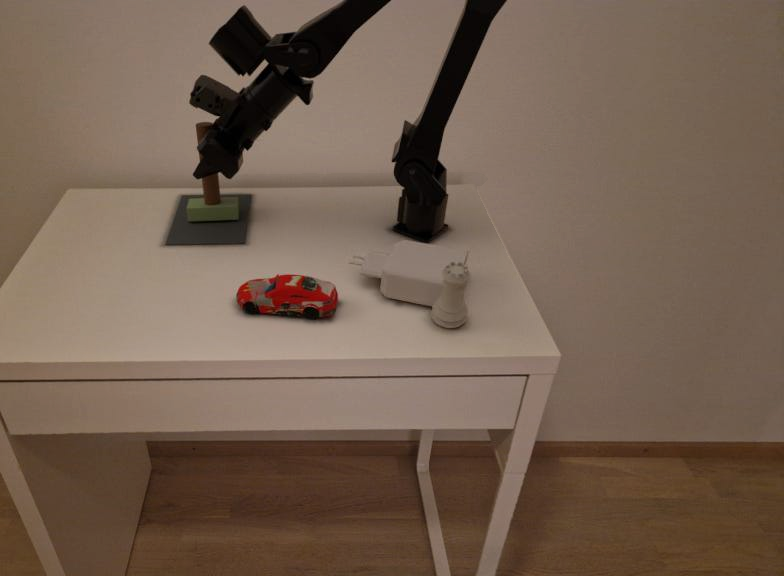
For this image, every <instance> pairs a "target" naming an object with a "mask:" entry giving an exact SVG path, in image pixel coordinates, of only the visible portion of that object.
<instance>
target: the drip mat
mask: <svg viewBox="0 0 784 576" xmlns="http://www.w3.org/2000/svg"><path fill="white" fill-rule="evenodd" d="M222 197H238V201H239V218H238V220H216V221H190V222H188V217H187V210H186V208H187V205H188V201H189V199H195V198H204V194H182V195H181V197H180V199H179V200H180V201H179V204H178V206H177V209H176V211H175V214H174V218H173V221H172V223H171V225H170V229H169V232H168V235H167V237H166V241H165V244H164V245H165V246H199V245H203V246H204V245H245V244H246V243H245V242H246V238H247V237H246V235H247V229H248V222H249V216H250V215H249V214H250V207H251V199H252V194H251V193H249V194H242V193H241V194H220V198H222Z"/></svg>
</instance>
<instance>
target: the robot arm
mask: <svg viewBox="0 0 784 576" xmlns="http://www.w3.org/2000/svg"><path fill="white" fill-rule="evenodd" d="M391 1H392V0H342V1H340V2H339V3H337V4H335V5H334V6H332V7H331V8H329V9H327V10H325V11H323V12H321V13H320V14H317V16H315V17H313V18H312V19H310V20H309V21H307V22H305V23H304V24H302V25H301V26H300V27H299V28H298V29H297V30H296V31H289V32H282V33H281V32H280V33H276V34H274V35H273V37H272V36H271V35H270V34H269V33H268V31H266V29H265V28H264V27H263V26H262V24H260V23H259V21H258V20H257V19H256V18H255V17H254V15H253V13H252V11H251V10H250V9H249V8H248V7H247V5H245V4H243V5H241V6H240V7H238V9H237V10H236V11H235V12H234V14H232V16H230V18H229V19H227V21H226V23H224V24H223V25H221V26H220V27H219V28H218V29H217V31H216V32H215V33H214V34H213V36H212V37H211V39H210V40H209V42H208V45H209V46H210V47H211V49H212V50H213V51H214V52H215V53H216V54H217V55H218V56H219V57H220V58H221V59H222V60H223V61H224V62H225V63H226V65H227V66H229V67H230V69H232V71H233V72H234V73H235V74H236V75H237V76H238V77H239V76H242V77H244V76H245V75H247V76H248V77H251V76H252V75H253V74H254V73H255V71H256V70H257V69H258V68H259V67H260V66H261V64H262V63H264V61H265V62H266V63H267V64H266V66H264V68H263V69H262V70H261V71H260V72H259V73H258V75H256V77H255V78H254V79H253V80H252V81H251V83H250V84H249V85H248V86H246V87H245V86H243V87H242V88H241V89H240V90H239V91H238V92H237V91H236V90H234V89H233V88H231V87H229V86H228V85H226V84H224V83H222V82H220V81H218V80H216V79H215V78H213V77H210V76H208V75H206V74H201V75H199V76H198V78H197V79H196V80H195V82H194V85H193V88H192V91H191V92H190V98H189V101H188V103H189V105H190V106H192V108H195V109H200V110H202V111H203V112H206V113H209V114H210V115H212V116H214V117H217V118H215V120H214V122H212V123H213V127H214V130H210V131H209V132H208V133H206V135H205V136H204V138H203V139H202V140H201V142H200V143H199V145H198V144H197V145H196V150H197V152H198V154H199V153H200V154H201V155H202V156H203V157H202V159H201V160H200V159H199V162H198V163H197V166H196V167H195V169H194V171H193V173H192V176H193V177H194V178H195V179H196V180H202V178H204V177H207V176H210V175H213V174H216V173H218V174H219V173H220V174H221V175H223V177H225V179H228V180H232V179H233V178H234V177H235V176H236V175H237V173H238V172H240V170H241V167H242V165H243V163H244V151H245V150H246V151H249V150H250V149H251V148H252V147H253V145H254V143H255V142H256V140H257V139H258V138H259V137H261V135H262V134H263V133H264V132H268V130H269V129H270V128H271V127H272V125H273V123H274V121H276V120H277V118H278V117H279V116H280V115H281V114H282V113H283V112H284V111H285V110H286V109H287V108H288V107H289V106H290V105H291V104H292V103H293V101H294V100H295V99H297V98H299V99H300V100H301V102H302V103H304V105H305V106H310V105H311V103H312V101H313V98H314V91H313V89H314V85H315V81H314V80H313V79H314V78H317V77H319V76H320V75H321V74H322V73H324V71H325V70H326V69H327V67H328V66H329V65H330V64H331V63H332V61H333V60H334V59H335V58H336V57H337V56H338V54H339V53H340V52H341V50H342V49H343V48H344V46H345V45H346V44H347V43H348V41H349V40H350V39H351V38H352V37H353V35H354V34H355V32H357V31H358V30H359V29H360V28H361V27H362V26H363V25H365V24H366V23H367V22H368V21H369V20H371V18H373V17H374V16H375V15H376V14H377V13H379V12H380V11H381V10H382V9H384V7H385V6H387V5H388V4H389V3H390V2H391ZM507 2H508V0H465V1H464V5H463V8H462V11H461V13H460V15H459V18H458V21H457V23H456V25H455V28H454V30H453V33H452V36H451V38H450V41H449V43H448V46H447V48H446V50H445V52H444V55H443V58H442V59H441V63H440V65H439V68H438V70H437V73H436V75H435V78H434V80H433V83H432V85H431V88H430V89H429V92H428V95H427V97H426V100H425V102H424V105H423V107H422V110H421V112H420V114H419V115H418V116H417V118H416V120H415V121H414V122H413V123H411V121H408V120H406V119H405V120H403V124H402V130H401V134H400V136H399V138H398V140H397V141H396V142H395V143H394V146H393V151H392V157H391V161H390V163H394V165H393V166H394V167H393V177H394V178H395V181H396V183H397V184H398V185H399V186H400V187H401V188H402V190H401V196H400V197H398V202H397V203H398V205H397V214H396V222H397V223H396V224H393V226H392V231H394V232H397V233H399V234H402V235H404V236H407V237H409V238H412V239H415V240H416V241H417V240H418V241H420V242H422V243H429V242H431V241H432V240H433V239H435V238H437V237H438V236H439V235H441V234H443V233H444V232H445V231H447V230H448V229H449V227H450V225H449V224H448V223H445V219H446V213H447V207H448V202H449V201H448V200H449V196H450V195H449V193H447V189H448V188H447V187H448V183H447V181H448V169H447V168H446V166H445V165H444V164H443V163H442V162H441V161H440V160H439V157H440V152H441V147H442V143H443V138H444V134H445V129H446V127H447V125H448V122H449V120H450V118H451V115H452V113H453V111H454V108H455V106H456V104H457V102H458V99H459V97H460V95H461V93H462V91H463V88H464V86H465V85H466V84H465V83H466V81H467V79H468V77H469V75H470V72H471V70H472V68H473V65H474V63H475V61H476V59H477V57H478V54H479V52H480V49H481V47H482V45H483V43H484V41H485V38H486V35H487V33H488V32H489V29H490V27H491V25H492V23H493V20H494V19H495V17H496V16H497V15H498V14H499V12H500V11H501V10H502V8H503V7H504V6H505V4H506V3H507Z"/></svg>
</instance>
